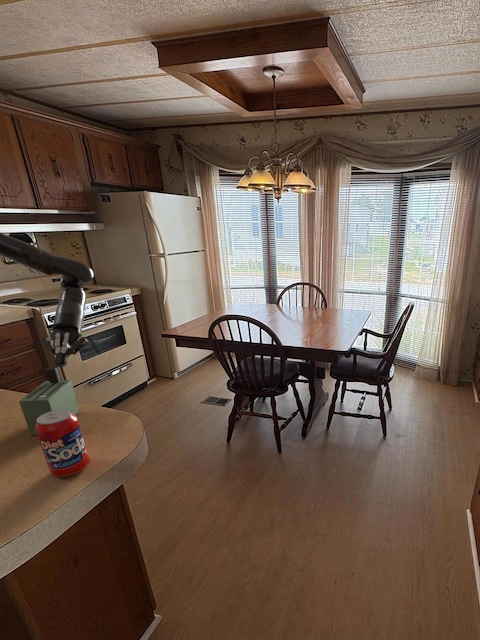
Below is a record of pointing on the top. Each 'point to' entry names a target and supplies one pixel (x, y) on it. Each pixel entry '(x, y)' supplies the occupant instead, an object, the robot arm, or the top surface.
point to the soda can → (62, 442)
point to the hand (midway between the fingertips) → (60, 366)
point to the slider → (53, 375)
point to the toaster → (48, 401)
